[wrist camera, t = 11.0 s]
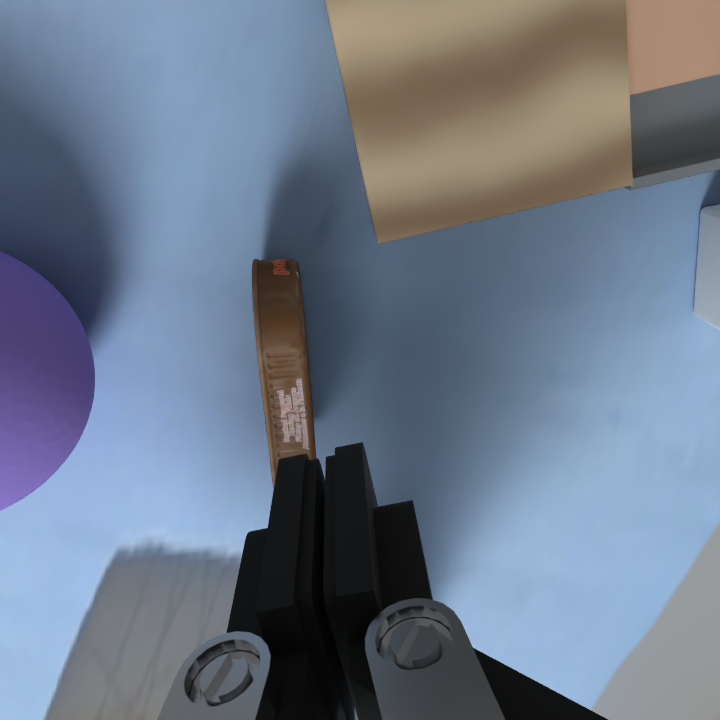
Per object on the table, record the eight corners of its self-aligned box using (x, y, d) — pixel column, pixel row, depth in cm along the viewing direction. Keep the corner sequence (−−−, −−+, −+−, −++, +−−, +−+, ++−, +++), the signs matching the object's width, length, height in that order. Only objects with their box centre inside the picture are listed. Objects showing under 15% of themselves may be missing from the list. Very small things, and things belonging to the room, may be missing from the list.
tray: (772, 144, 36) (808, 149, 34) (608, 182, 37) (630, 189, 34) (787, -158, 31) (832, -182, 28) (592, -108, 31) (617, -126, 28)
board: (603, 174, 37) (633, 184, 33) (373, 228, 37) (377, 243, 34) (586, -106, 31) (620, -132, 27) (316, -37, 32) (314, -53, 28)
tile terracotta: (693, 73, 34) (724, 72, 31) (603, 95, 34) (626, 95, 32) (693, -30, 32) (726, -41, 29) (597, -7, 32) (622, -15, 30)
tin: (255, 243, 38) (236, 284, 30) (307, 241, 38) (301, 281, 30) (279, 453, 44) (267, 532, 36) (323, 451, 44) (321, 528, 36)
